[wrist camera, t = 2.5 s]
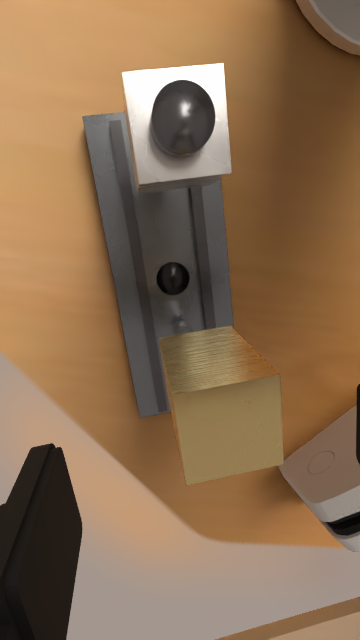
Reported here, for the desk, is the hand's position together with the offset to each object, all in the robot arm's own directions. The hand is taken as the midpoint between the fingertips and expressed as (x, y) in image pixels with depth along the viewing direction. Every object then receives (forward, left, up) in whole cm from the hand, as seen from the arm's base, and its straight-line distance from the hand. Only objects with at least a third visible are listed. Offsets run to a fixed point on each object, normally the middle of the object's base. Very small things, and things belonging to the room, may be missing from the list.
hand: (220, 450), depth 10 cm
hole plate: (-4, 0, -12) cm, 13 cm away
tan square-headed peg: (-1, 0, -11) cm, 11 cm away
